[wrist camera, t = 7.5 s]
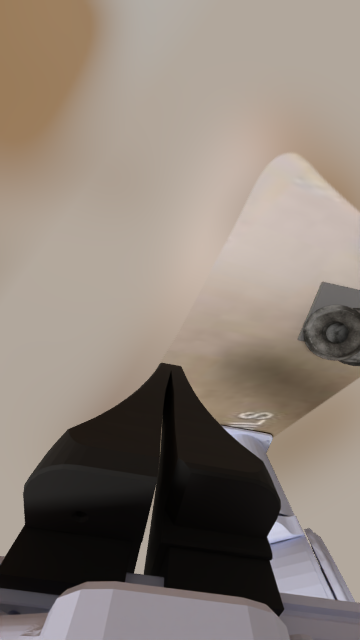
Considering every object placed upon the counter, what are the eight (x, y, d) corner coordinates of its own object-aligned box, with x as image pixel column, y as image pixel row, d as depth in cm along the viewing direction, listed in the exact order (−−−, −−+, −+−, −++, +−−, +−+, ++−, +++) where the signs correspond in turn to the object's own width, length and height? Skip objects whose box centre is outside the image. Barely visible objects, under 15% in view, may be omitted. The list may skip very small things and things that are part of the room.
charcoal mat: (350, 350, 21) (353, 351, 21) (297, 339, 21) (299, 340, 21) (380, 294, 19) (383, 295, 19) (321, 282, 19) (324, 282, 19)
